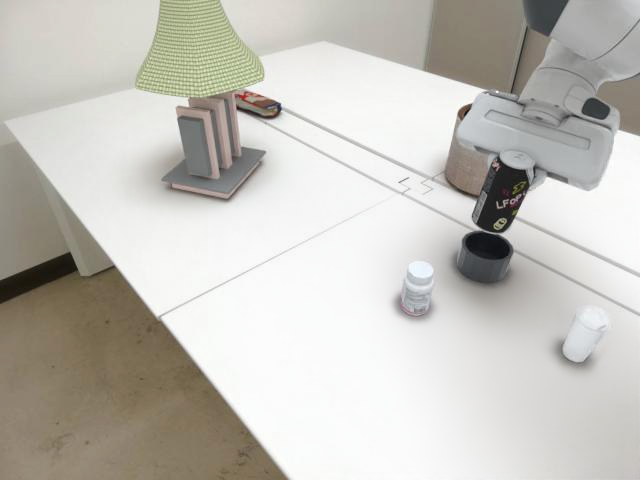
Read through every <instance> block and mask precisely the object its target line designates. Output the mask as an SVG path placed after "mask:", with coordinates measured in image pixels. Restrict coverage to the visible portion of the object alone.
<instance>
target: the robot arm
mask: <svg viewBox="0 0 640 480" xmlns="http://www.w3.org/2000/svg"><path fill="white" fill-rule="evenodd" d="M522 10H523V11H522V12H523V16H524V19H525V23H526V27H527V28H529V29H531V30H533V31H534V32H537V33H538V34H540V35H543V36H544V37H547V38H548V37H549V38H551V39H550V41H549V43H548V45H547V47H546V50H545V54H544V57H543V60H542V61H541V63H540V64H539V65H538V66H537V67H536V68H535V69H534V70H533V72H532V74H531V75H530V77H529V78H528V80H527V82H526V83H525V84H526V85H525V86H524V88H523V90H522V91H521V93H520V95H518V94H514V93H510V92H504V91H500V90H499V89H495V88H491V89H489V90H484V91H482V92H479V93H478V94H477V95H476V97H475V98H474V100H473V102H472V103H473V104H472V107H471V109H470V111H469V112H468V113H467V115H466V116H465V118H464V119H463V120H462V122H461V124H460V125H459V127H458V128H457V131H456V136H457V139H458V141H459V143H460V145H461V146H463V147H465V148H468V149H471V150H474V151H476V152H479V153H482V154H485V155H487V156H489V157H488V171H489V168H490V166H491V163H492V161H493V159H494V158H495V157H497V156H499V155H500V153H501V151H502V150H504V149H508V148H515V149H520V150H523V151H526V152H527V153H529V154H531V155H532V156H533V157H534V159H535V165H534V167H535V171H536V173H535V176H534V179H533V181H532V183H531V185H530V187H529V189H528V191H527V193H526V196H525V198H524V200H523V201H522V203H523V202H524V201H525V200H526V198H527V196H528V194H529V192H532V191H533V190H535V189H537V188H538V187H540V186H542V185H543V184H544V182H545V181H546V179H547V178H549V179H552V180H554V181H558V182H560V183H563V184H565V185H569V186H571V187H573V188H577V189H579V190H582V191H585V192H591V191H593V190H595V189H597V188H598V187H599V186H600V184H601V183H602V181H603V178H604V177H605V175H606V172H607V170H608V166H609V164H610V161H611V158H612V155H613V149H614V145H615V144H614V143H615V141H614V140H615V136H616V135H617V133H618V131H619V128H620V123H621V113H620V111H619V109H617V108H616V107H615V106H613V105H611V104H609V103H608V102H606V101H604V100H603V99H601V98H600V97H598V96H597V94H598V90H599V88H600V86H601V85H602V84H604V83H606V82H611V83H618V82H625V81H629V80H633V79H634V80H635V79H638V78H640V0H522ZM485 179H486V178H485ZM484 181H485V180H484ZM483 184H484V183H483Z"/></svg>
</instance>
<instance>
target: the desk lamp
mask: <svg viewBox="0 0 640 480" xmlns="http://www.w3.org/2000/svg"><path fill="white" fill-rule="evenodd" d="M156 22H157V23H156V27H155V32H154V35H153V39H152V43H151V46H150V48H149V50H148V53H147V54H146V56H145V58H144V59H143V61H142V63H141V65H140V67H139V69H138V71H137V73H136V76H135V80H134V88H135V89H137V90H140V91H145V92H148V93H153V94H159V95H165V96H172V97H178V98H179V97H180V98H188V99H187V103H188V106H183V105H177V106H176V107H175V113H176V120H177V125H178V130H179V135H180V140H181V144H182V149H183V156H184V158H183V160H181V161H180V162H179V163H177V164H176V165H175V166H174V167H173V168H172V169H171V170H170V171H169V172H167V173H166V174H165V175H164V176H162V178H160V180H161V182H164V183H169V184H171V186H172V187H171V188H173V189H178V190H181V191H187V192H193V193H195V194H196V193H197V194H202V195H207V196H211V197H216V198H221V199H226V200H228V199H230V197H231V196H232V195H233V194H234V193H235V191H236V190H237V189H238V188H239V187H240V186H241V185H242V184H243V183H244V182H245V180H246V179H247V178H248V177H249V176H250V175H251V174H252V172H254V170H255V169H256V168H257V167H258V166H259V165H260V163H261V162H260V160H261V159H262V158H263V157H264V156H265V155H266V154H267V151H266V150H265V149H257V148H252V147H247V146H241V145H242V144H241V137H240V136H241V135H240V129H239V128H240V127H239V121H238V119H239V118H238V111H237V106H236V102H235V93H234V90H242V89H244V88H247V87H251V86H253V85H256V84H258V83H261V82H263V81H264V80H265V77H266V72H265V68H264V64H263V62H262V61H261V59H260V58H259V56H258V54H256V53H255V52H254V51H253V50H252V49H251V48H250V47H249V46H248V45H247V44H246V43H245V42H244V41H243V40H242V38H240V36H239V34H238V33H237V32H236V30H235V28H234V27H233V25H232V24H231V21H230V19H229V18H228V15H227V13H226V11H225V9H224V7H223V4H222V2H221V0H159V7H158V16H157V21H156Z"/></svg>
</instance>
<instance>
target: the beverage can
mask: <svg viewBox="0 0 640 480" xmlns="http://www.w3.org/2000/svg"><path fill="white" fill-rule="evenodd" d="M534 165H535V159H534V157H533V156H532V155H531V154H529V153H527V152H526V151H523V150H520V149H515V148H508V149H504V150H502V151H501V153H500V155H499V156H497V157H495V158H494V159H493V161H492V163H491V166H490V168H489V171H488V173H487V176H486V179H485V181H484V184H483V187H482V189H481V192H480V195H479V196H477V200H476V202H475V204H474V208H473V211H472V212H471V221H472V223H473V224H474V226H476V227H477V228H478V229H479V230H482V231H484V232H487V233H491V234H499V235H502V234H505V233H507V232H509V231H510V229H511V227H512V225H513V223H514V221H515V219H516V216H517V215H518V213H519V210H520V209H521V206H522V204H523V202H524V201H525V199H526V197H527V196H526V193H527V191H528V189H529V187H530V185H531V183H532V181H533V179H534V176H535V173H536V171H535V167H534ZM525 196H526V197H525ZM524 198H525V199H524ZM523 200H524V201H523ZM522 201H523V202H522Z"/></svg>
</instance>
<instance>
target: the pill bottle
mask: <svg viewBox="0 0 640 480" xmlns="http://www.w3.org/2000/svg"><path fill="white" fill-rule="evenodd" d="M434 272H435V270H434V267H433V266H432V265H431V264H430V263H429V262H426V261H424V260H415V261H411V262H410V263H409V264H408V266H407V271H406V273H405V274H404V276H403V281H402V289H401V295H400V301H399V302H400V303H399V304H400V305H399V306H400V308H401V310H403V311H404V312H405V313H407V314H408V315H411V316H422V315H424V314H426V313H427V312H428V310H429V308H430V304H431V298H432V293H433V289H434V285H435V281H434V280H435V279H434Z"/></svg>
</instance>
